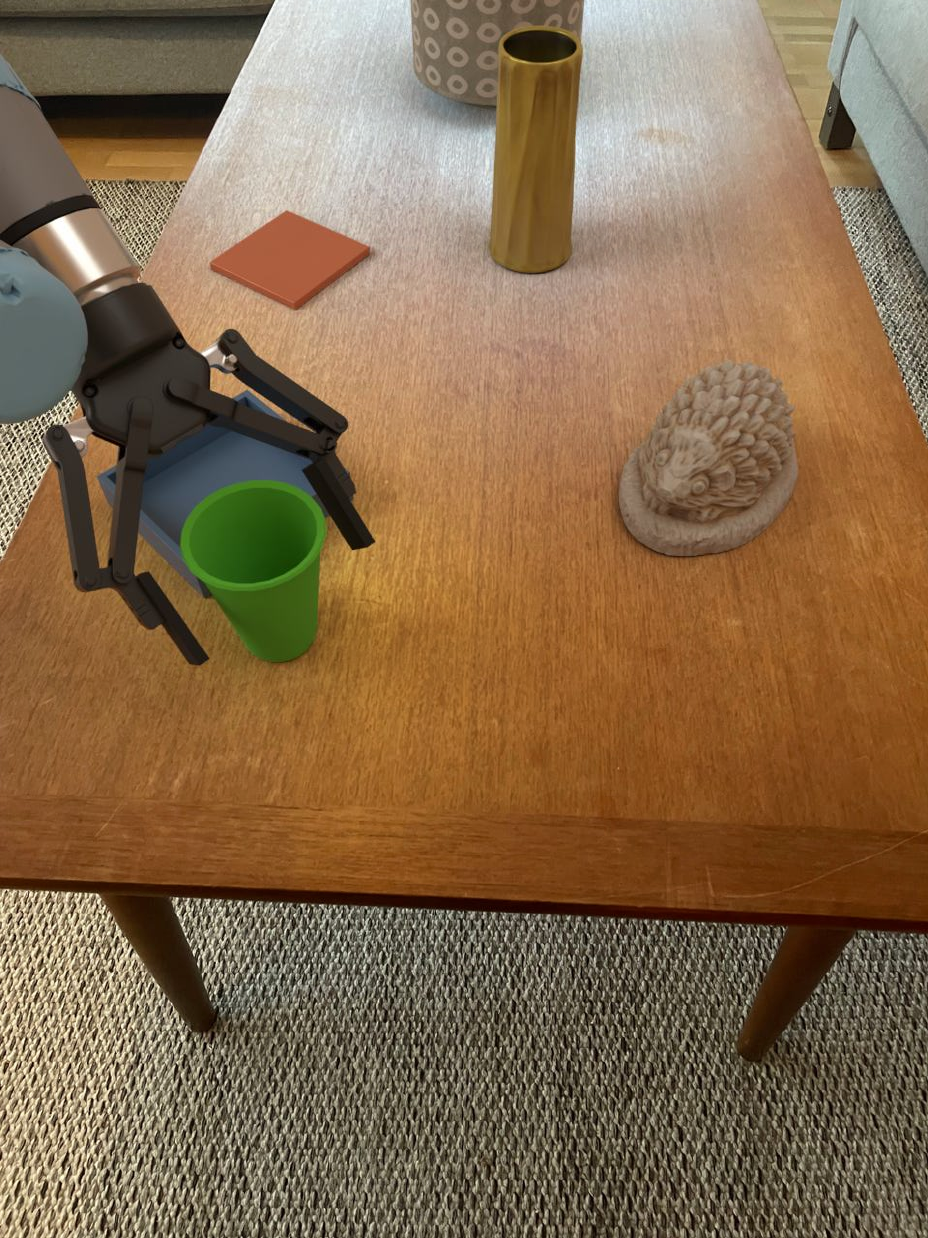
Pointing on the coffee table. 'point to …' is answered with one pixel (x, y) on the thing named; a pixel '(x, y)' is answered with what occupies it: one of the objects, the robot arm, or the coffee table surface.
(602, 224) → the coffee table surface
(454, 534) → the coffee table surface
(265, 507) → the cup
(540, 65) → the vase
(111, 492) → the blue tray
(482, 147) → the coffee table surface
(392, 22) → the coffee table surface
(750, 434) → the sculpture
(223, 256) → the terracotta coaster
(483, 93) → the planter
